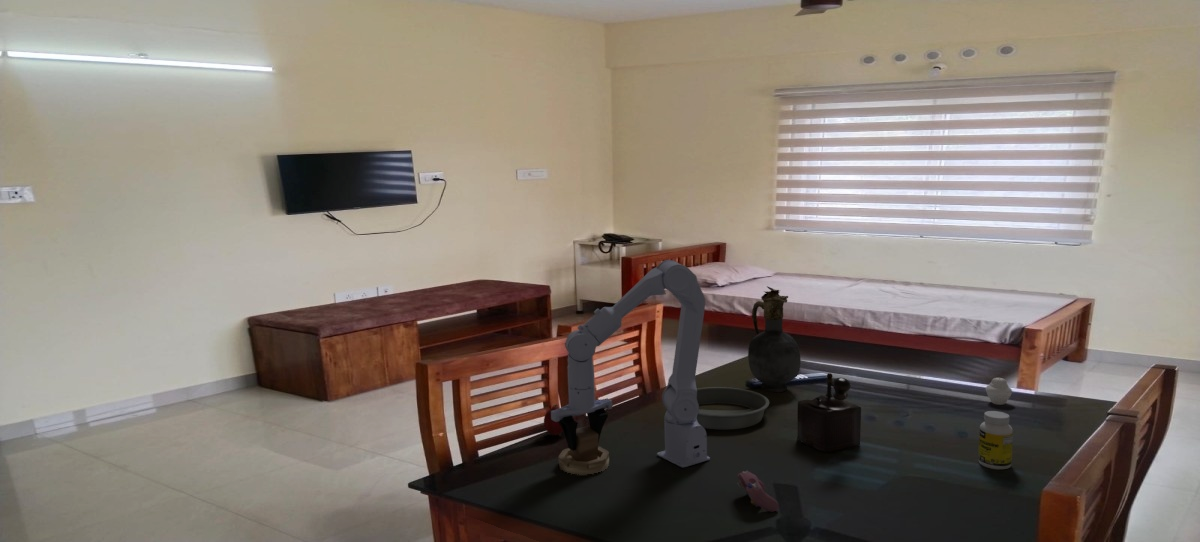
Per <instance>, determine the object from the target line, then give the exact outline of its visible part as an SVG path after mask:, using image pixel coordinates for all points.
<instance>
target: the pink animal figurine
mask: <svg viewBox="0 0 1200 542" xmlns="http://www.w3.org/2000/svg"><path fill="white" fill-rule="evenodd" d="M737 477H738V478H737V479H738V480H737V481H736V483H737V485H738V487H740V488H741V487H743V488H744V490H745V491H746V493H747V494H748V497H749V498H750V503H751V505H754V506H755V507H756V508H758V507H759V508H762V509H763V510H765V511H768V512H771V513H775V512H774V511H776V512H778V511H779V508H780V506H779V503H778V501H777V500H776V499H775V498H773V497H772V496H771V495H769V494H768V493H766V492H765V490H766V486H765V484H764V483H763V481H762V480H760V479H759V478H758V476H757V475H756V474H754V473H753V472H751V471H749V470H748V469H747V470H745V471H744V470H743V471H742V472H740V473H738V474H737Z"/></svg>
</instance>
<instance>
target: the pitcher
mask: <svg viewBox="0 0 1200 542" xmlns="http://www.w3.org/2000/svg"><path fill="white" fill-rule="evenodd" d="M766 288H768V289H769V291H763V292H764V294H763V295H762V296H761V297H760V299H761V300H759V301H756V302H755V303H754V304H753V307H752V309H751V319H752V323H753V328H754V331H755V334H756V335H755V336H754V337H753V338H752V339H750V342H749V346H748V350H747V351H748V352H747V357H748V358H747V359H748V360H747V361H748V367H749V369H750V372H751V374H752V376H753V377H754V378H755V379H756V380H757V381H758V382H759V383H761V384H760V389H761V390H763V391H766V392H768V393H782V392H786V391H787V390H788V386H787V385H786V384H788V383H790V382H791V381H793V380H795V378H796V377H798V375H799V373H800V368H801V360H802V359H801V353H800V347H799V345H798V343H797V341H796V340H795V339H794V338H793V336H791V335H790V333H787V332H784V331H783V329H784V328H783V322H784V320H783V318H784V303H787V302H788V298H789V296H788V295H780V292H781V290H780V289H774V288H773V287H770V286H766ZM759 308H761V310H763V318H764V331H762V332H759V328H758V327H759V326H758V319H757V318H758V317H757V314H758V309H759Z"/></svg>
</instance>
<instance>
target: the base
mask: <svg viewBox="0 0 1200 542" xmlns="http://www.w3.org/2000/svg"><path fill="white" fill-rule="evenodd" d="M557 460H558V464H559V465H558V466H559V467H558V468H559V469H560V470H561V471H562V470H563V471H565V472H567V473H566V474H568V473H571V474H570V475H572V474H577V475H576V476H588V475H587V474H592V475H595V474H594V473H597V474H599V473H598V472H600V473H602V472H604V471H606V470H607V469H608V468H609V467H608V466H610V451H609V450H607V449H605V448H603V447H602V446H599V445H598V459H595V460H592V461H588V462H582V461H576V460H575V459H574V458H573V457H571V456H570V449H569V448H564V449H562V451H561V452H560V453H559V454H558V458H557ZM605 469H606V470H605ZM563 471H562V472H563ZM601 471H602V472H601ZM565 472H564V473H565ZM578 474H579V475H578Z"/></svg>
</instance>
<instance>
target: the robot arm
mask: <svg viewBox="0 0 1200 542" xmlns="http://www.w3.org/2000/svg"><path fill="white" fill-rule="evenodd" d="M698 281H699V280H698V277H697V274H695V273H694V272H693V271H692V270H691V269H690V268H689V267H687V266H686V265H684V264H680V263H679V262H677V261H675V260H673V259H666V260H663V261H661V262H660V263H658V265H657V266H656V267H654V268H652V269H651V270H649V271H648V272H647V273H646V274H645V275H644V276H643V277H642V278H641V279H640V280H639V281H638V282H637V283H635V285H634V286H633V287H632V288H630V290H628V291H627V292H626V293H625V294H624V295H623V296H622V297H621V298H620V299H619V300H618V301H617V302H616V303H615V304H614V305H613V306H604V307H602V308H601V309H600V308H596V309H595V310H594V311H593V313H594V315H592V316H591V317H590V318H589V319H588V320H587V321H586V322H585V323H583V324H581V323H580V324H579V325H578V326H577V330H573V331H571V332H570V333H569V334H568V335H567V336H566V339H565V342H564V346H565V349H566V351H567V352H568V354H567V389H568V404H566V405H565V406H562V407H558V408H559V409H557V410H553V411H551V420H553V421H555V422H557V421H558V423H559V424H560V426H561V428H562V430H563V431H562V433H563V434H564V437H565V439H566V440H565V441H566V444H567V447H568V448H569V449H571V450H573V451H574V450H576V429H577V428H578V424H579V423H578V422H577V421H576V420H575V418H574V417H578V416H581V415H586V414H587V418H588V421H589V427H590V428H591V429H593V430H594V431H595V432H596V433H598V444H599V442H600V437H601V433H602V431H603V427H604V425H605V423H606V420H608V418H609V413H608V412H607V411H605V410H611V409H613V400H612V399H610V398H608V397H607V398H603V399H601V398H600V399H596V391H595V389H596V388H595V365H594V361H593V358H594V357H593V356H594V355H595V353H596V349H597V347H600V346H601V345H602V344H604V342H606V341H607V339H608V338H610V337H611V336H612V335H613V334H615V332H617V331H618V330H619V329H620V328H621V327H622V321H623V318H624V317H625V316H627V315H629V313H631V312H632V311H633V310H634V309H636V308H637V307H638V306H640V305H641V304H642V303H643V302H645V301H646V300H647V299H648V298H650V297H652V296H661V295H666V290H667V291H669V292H670V293H671V294H672V295H673V297H674V298H675V299H676V300H677V301H678V303H680V306H681V308H680V313H679V320H678V321H679V322H678V329H677V335H676V336H677V337H676V341H675V351H674V358H673V365H672V372H671V375H670V376H669V378H668V381H667V384H666V385H667V386H666V387H665V389H664V390H663V392H662V395H661V402H662V404H663V406H664V407H665V408H666V411H665V414H664V416H663V420H664V423H663V424H664V425H663V426H664V429H663V430H664V450H662V451H659V452H657V453H656V455H657V456H659V457H660V458H662V459H664V460H666V461H668V462H670V463H672V464H674V465H676V466H678V467H680V468H682V469H683V468H688V467H689V466H693V465H696V464H700V463H703V462H706V461H710V459H711V457H710V456H709V455H708V441H707V440H708V434H707V431H706V428H703V427H702V426H701V425H700V424H699V423H698V421H697V415H698V412H699V409H700V405H699V404H698V401H697V389H698V388H697V383H696V374H697V373H696V372H697V366H698V359H699V352H700V346H701V345H700V344H701V337H702V330H703V324H704V315H705V309H706V297H705V295H704V293H703V290H702V288H701V286H700V283H699V282H698Z"/></svg>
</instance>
